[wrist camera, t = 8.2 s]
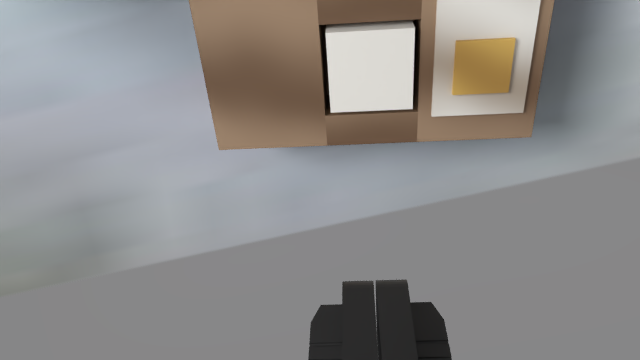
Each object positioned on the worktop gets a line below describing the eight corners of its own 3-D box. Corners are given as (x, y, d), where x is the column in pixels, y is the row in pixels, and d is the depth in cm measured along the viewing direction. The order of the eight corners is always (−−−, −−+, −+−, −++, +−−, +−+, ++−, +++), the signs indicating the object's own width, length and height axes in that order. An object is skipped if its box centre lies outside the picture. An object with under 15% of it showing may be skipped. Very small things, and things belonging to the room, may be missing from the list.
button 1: (326, 19, 26) (325, 33, 24) (410, 14, 26) (414, 27, 24) (331, 95, 28) (330, 112, 26) (408, 91, 28) (412, 108, 26)
